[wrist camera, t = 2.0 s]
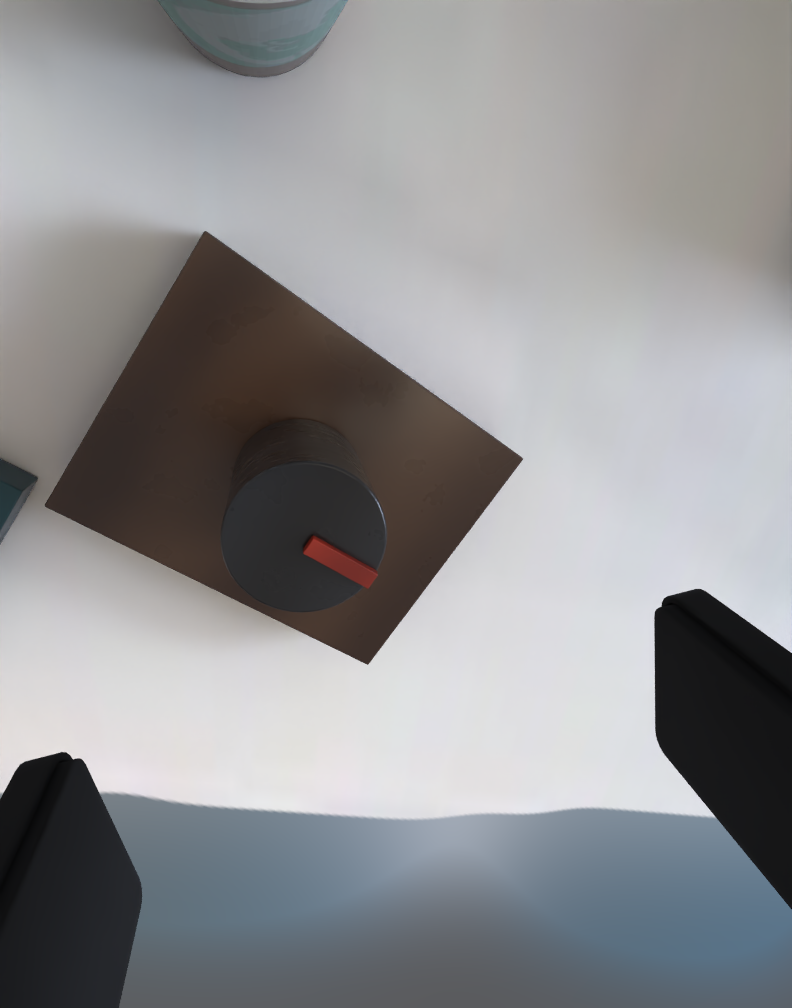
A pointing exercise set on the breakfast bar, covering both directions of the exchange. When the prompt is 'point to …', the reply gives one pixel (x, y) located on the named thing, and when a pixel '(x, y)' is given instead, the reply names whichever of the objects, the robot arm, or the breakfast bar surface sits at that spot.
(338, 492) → the knob
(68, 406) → the breakfast bar surface
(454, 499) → the panel
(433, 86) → the breakfast bar surface
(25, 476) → the button box
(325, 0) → the coffee cup
